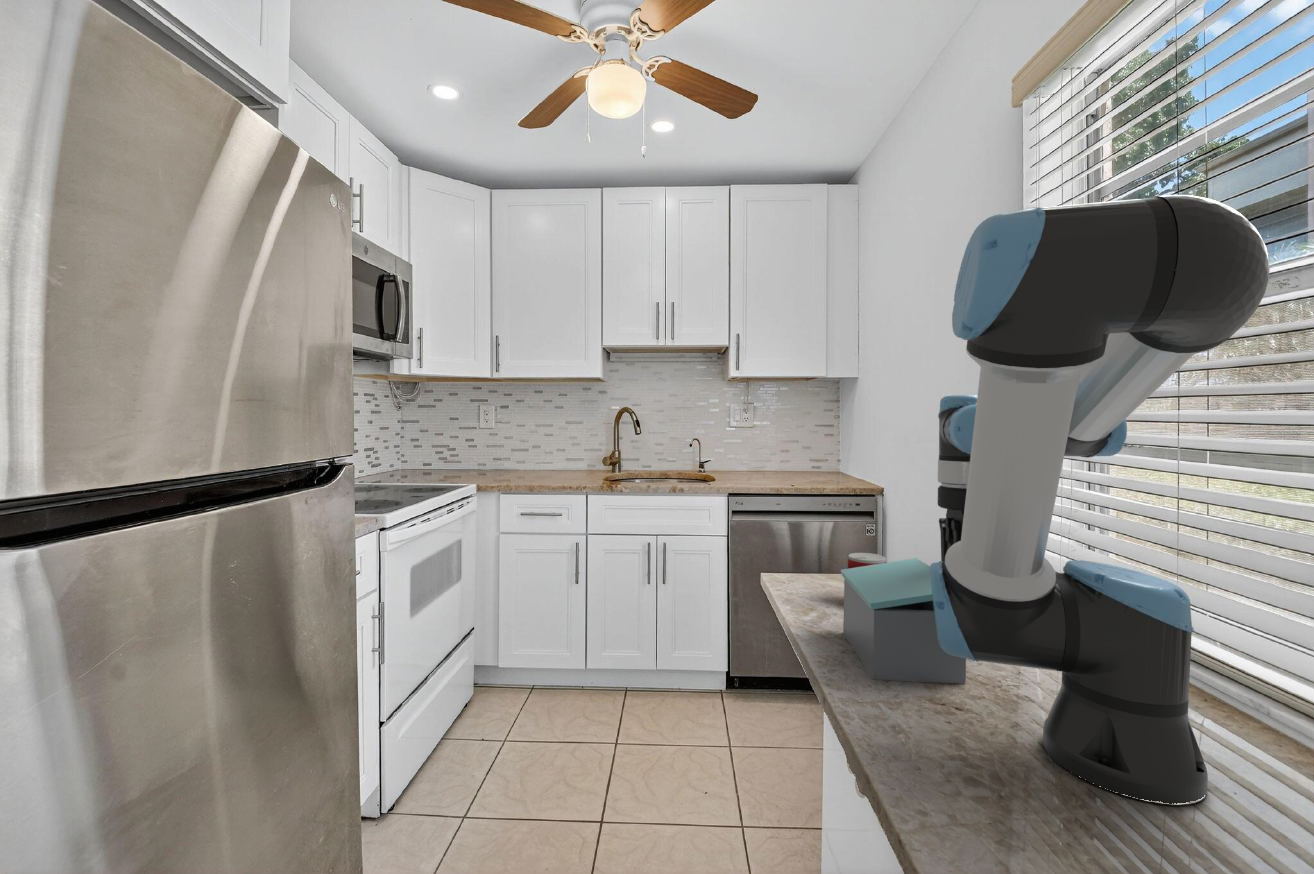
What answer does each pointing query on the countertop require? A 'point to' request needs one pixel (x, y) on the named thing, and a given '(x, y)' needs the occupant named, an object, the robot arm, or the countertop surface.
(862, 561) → the canned food
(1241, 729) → the countertop surface
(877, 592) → the lid
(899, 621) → the tub
